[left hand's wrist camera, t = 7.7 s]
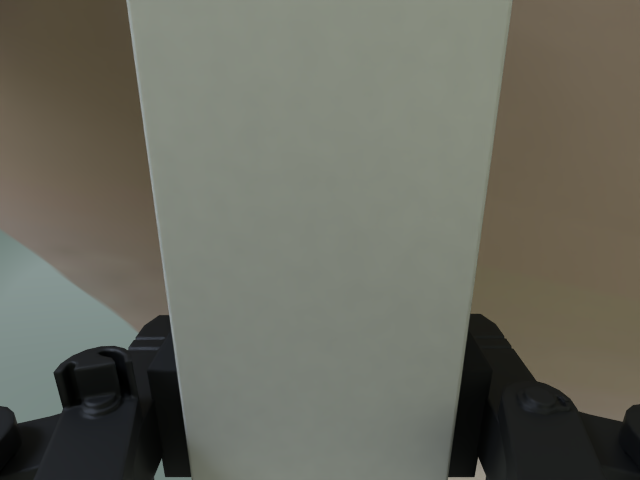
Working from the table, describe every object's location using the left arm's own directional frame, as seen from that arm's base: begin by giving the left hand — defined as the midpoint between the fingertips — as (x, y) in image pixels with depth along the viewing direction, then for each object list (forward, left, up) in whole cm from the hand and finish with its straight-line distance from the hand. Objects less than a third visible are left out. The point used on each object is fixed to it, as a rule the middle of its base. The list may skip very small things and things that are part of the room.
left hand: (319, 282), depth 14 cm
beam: (-25, +5, -1) cm, 26 cm away
